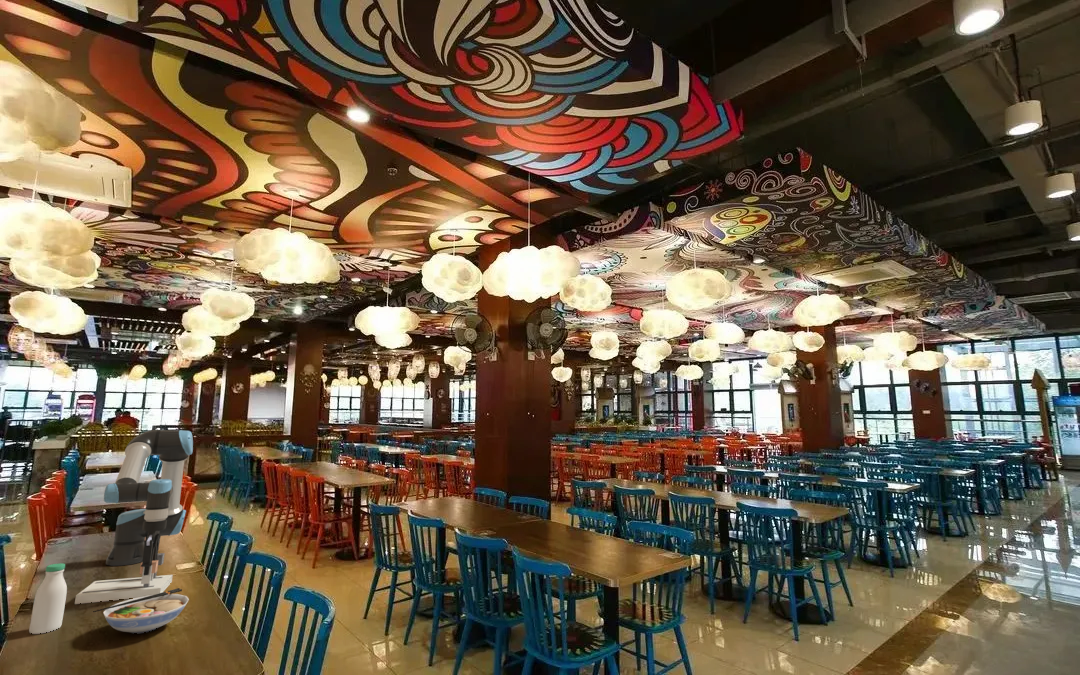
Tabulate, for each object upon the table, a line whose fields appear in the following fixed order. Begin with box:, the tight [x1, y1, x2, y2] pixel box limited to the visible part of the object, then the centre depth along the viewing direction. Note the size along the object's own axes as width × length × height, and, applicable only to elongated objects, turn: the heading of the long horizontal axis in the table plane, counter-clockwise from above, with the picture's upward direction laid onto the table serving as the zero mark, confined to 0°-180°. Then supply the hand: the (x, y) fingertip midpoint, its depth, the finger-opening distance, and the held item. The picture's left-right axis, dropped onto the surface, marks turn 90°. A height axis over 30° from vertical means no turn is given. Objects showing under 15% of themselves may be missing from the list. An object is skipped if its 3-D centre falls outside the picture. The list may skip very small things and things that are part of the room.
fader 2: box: [153, 552, 166, 578], centre depth 210 cm, size 3×5×9 cm, turn 114°
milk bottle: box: [28, 562, 68, 635], centre depth 167 cm, size 8×8×20 cm
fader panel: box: [74, 574, 173, 605], centre depth 201 cm, size 18×26×3 cm
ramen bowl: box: [92, 588, 190, 634], centre depth 168 cm, size 25×23×8 cm
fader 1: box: [139, 560, 159, 587], centre depth 200 cm, size 3×5×9 cm, turn 114°
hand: (146, 581), depth 199 cm, fingers closed on fader 1, 3 cm apart
